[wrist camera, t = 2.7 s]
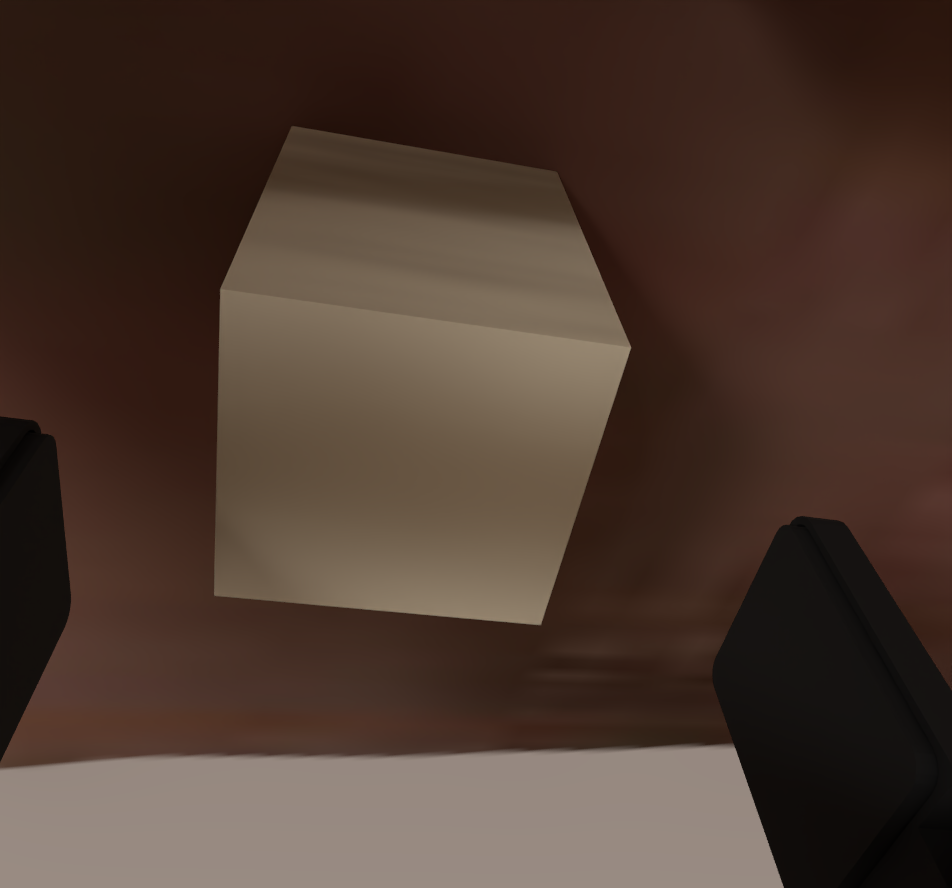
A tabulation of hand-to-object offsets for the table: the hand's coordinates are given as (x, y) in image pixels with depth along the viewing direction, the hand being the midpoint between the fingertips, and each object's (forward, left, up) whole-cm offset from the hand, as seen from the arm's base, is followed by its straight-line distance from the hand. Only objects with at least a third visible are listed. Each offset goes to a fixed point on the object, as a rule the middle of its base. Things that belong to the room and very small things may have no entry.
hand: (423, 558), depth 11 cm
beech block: (0, 0, -8) cm, 8 cm away
